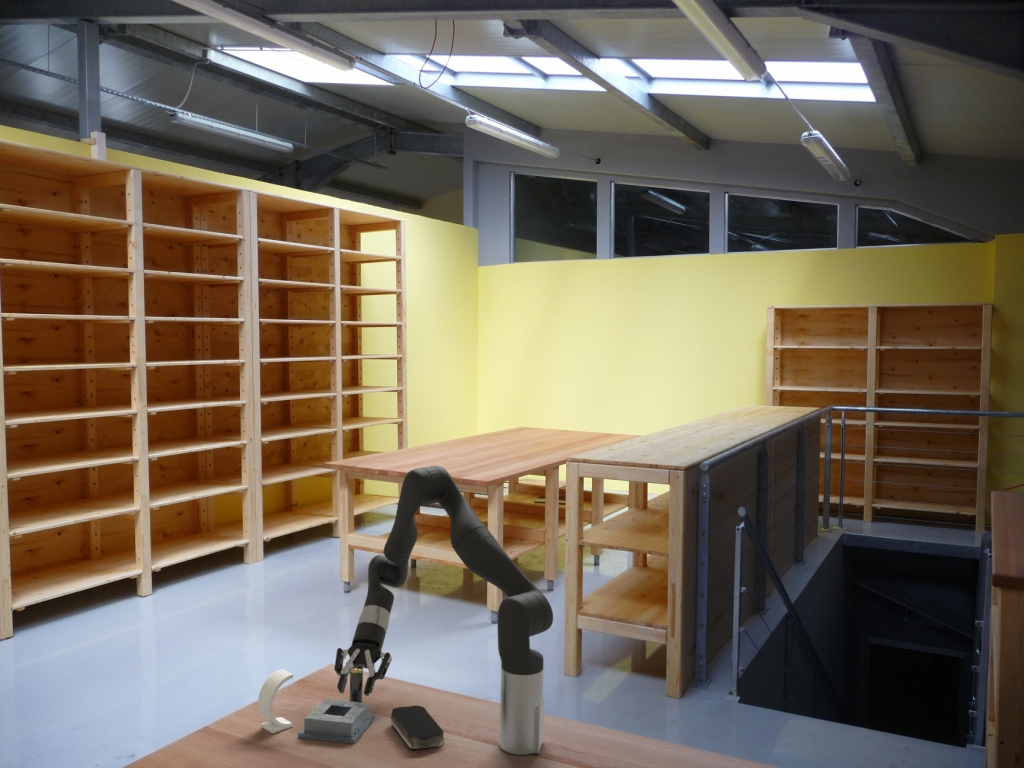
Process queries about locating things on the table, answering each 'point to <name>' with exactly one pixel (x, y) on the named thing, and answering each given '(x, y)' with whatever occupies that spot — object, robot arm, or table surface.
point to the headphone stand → (267, 701)
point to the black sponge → (417, 727)
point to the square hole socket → (337, 721)
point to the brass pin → (356, 684)
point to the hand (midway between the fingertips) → (353, 692)
